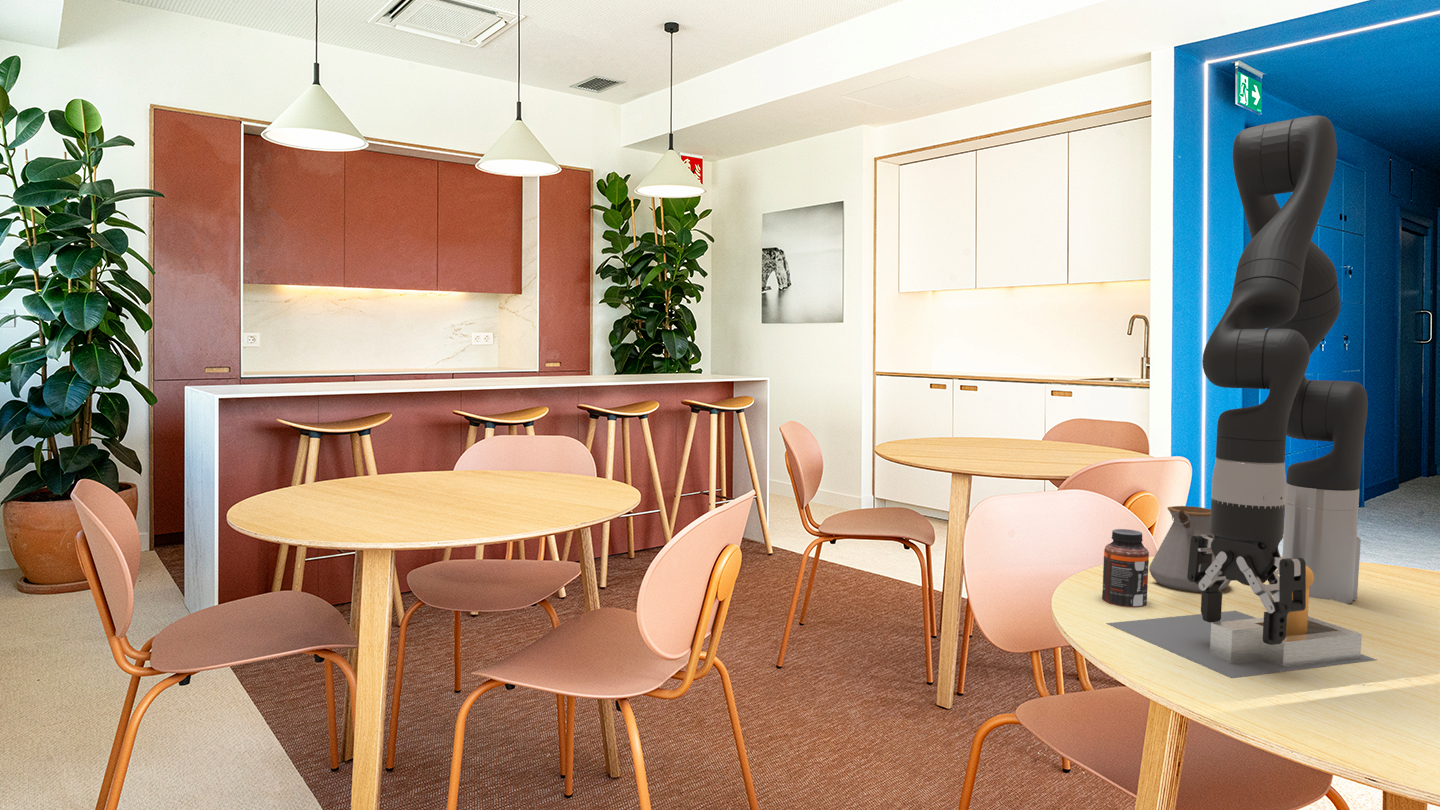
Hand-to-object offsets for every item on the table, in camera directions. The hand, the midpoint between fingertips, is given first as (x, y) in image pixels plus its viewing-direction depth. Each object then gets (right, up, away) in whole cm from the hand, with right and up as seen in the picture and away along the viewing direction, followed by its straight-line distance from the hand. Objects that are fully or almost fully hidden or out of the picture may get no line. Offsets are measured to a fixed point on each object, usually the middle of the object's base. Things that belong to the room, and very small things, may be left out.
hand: (1240, 631), depth 105 cm
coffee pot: (+9, -2, +29) cm, 30 cm away
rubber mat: (+3, -4, +6) cm, 8 cm away
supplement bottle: (-3, -3, +23) cm, 24 cm away
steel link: (+5, -3, +2) cm, 6 cm away
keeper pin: (+8, -4, +3) cm, 9 cm away
